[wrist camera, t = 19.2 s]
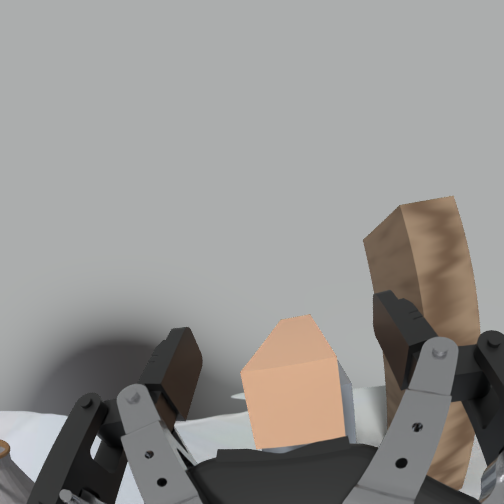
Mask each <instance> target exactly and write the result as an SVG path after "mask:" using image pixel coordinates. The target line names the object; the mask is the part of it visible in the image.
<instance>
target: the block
mask: <svg viewBox="0 0 504 504" xmlns="http://www.w3.org/2000/svg"><path fill="white" fill-rule="evenodd" d="M240 373H241V378H242V382H243V388H244V393H245V398H246V403H247V408H248V413H249V417H250V422H251V427H252V431H253V436H254V441H255V445H256V449H264V448H276V447H286V446H294V445H302V444H309V443H314V442H318V441H324V440H329V439H334V438H339V437H344V436H345V426H344V415H343V405H342V395H341V387H340V378H339V371H338V363H337V356H336V355H335V353H334V352H333V350H332V348H331V347H330V345H329V344H328V342H327V341H326V339H325V337H324V336H323V334H322V332H321V331H320V329H319V328H318V326H317V325H316V323H315V321H314V320H313V318H312V317H311V315H310V314H309V315H304V316H299V317H293V318H288V319H282V320H280V322H279V323H278V324H277V325H276V327H275V328H274V329H273V331H272V332H271V334H270V335H269V336H268V337H267V339H266V340H265V341H264V343H263V344H262V345H261V346H260V348H259V349H258V350H257V352H256V353H255V354H254V355H253V357H252V358H251V359H250V361H249V362H248V363H247V364H246V366H245V367H244V368H243V369H242V371H241V372H240Z"/></svg>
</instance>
